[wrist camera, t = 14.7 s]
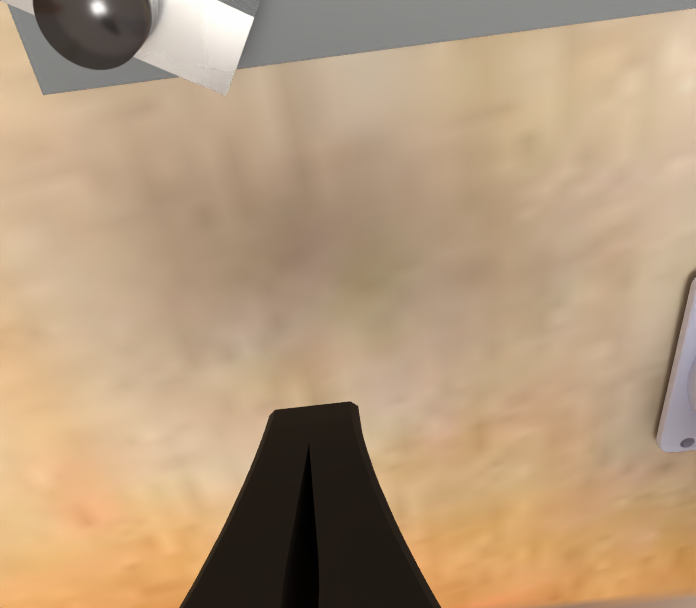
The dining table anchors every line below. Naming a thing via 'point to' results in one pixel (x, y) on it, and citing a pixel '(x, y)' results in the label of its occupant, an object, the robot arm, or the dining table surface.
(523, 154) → the dining table surface
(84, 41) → the crank
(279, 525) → the robot arm
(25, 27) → the crank board
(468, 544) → the dining table surface
